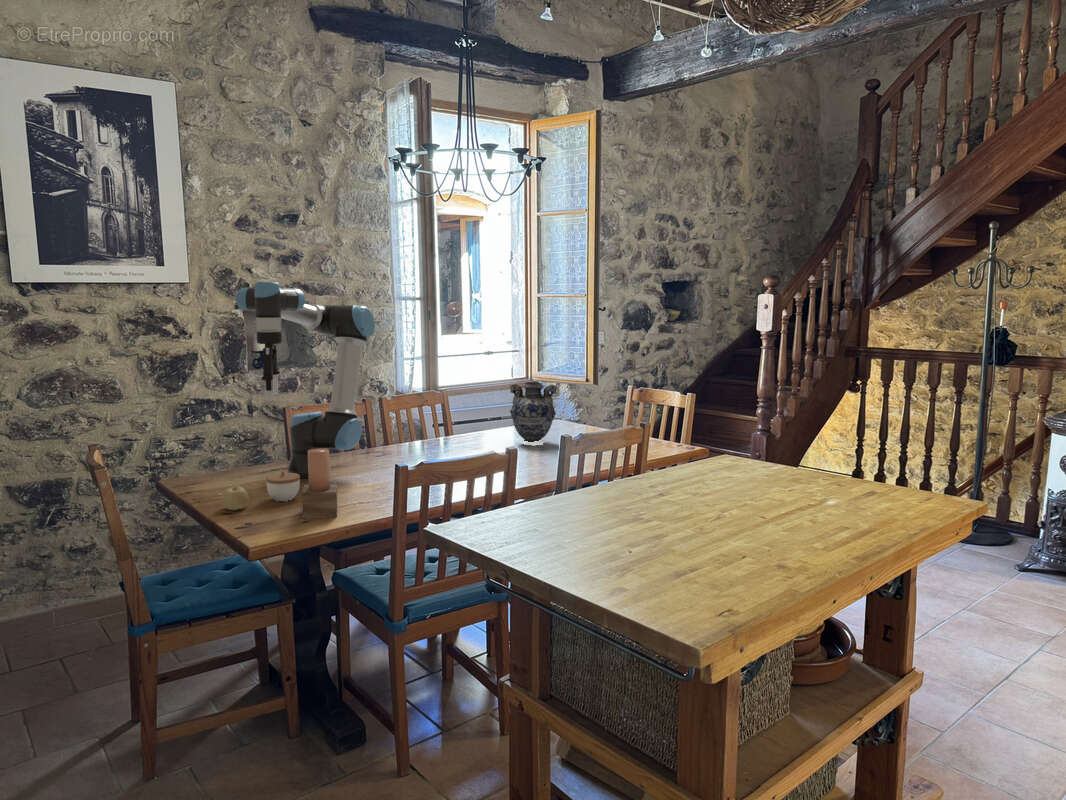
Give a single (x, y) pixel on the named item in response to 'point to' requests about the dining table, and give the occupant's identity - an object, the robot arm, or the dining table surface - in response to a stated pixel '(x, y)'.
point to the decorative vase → (532, 410)
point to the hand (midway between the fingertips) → (271, 397)
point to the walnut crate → (319, 502)
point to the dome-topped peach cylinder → (319, 469)
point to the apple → (235, 498)
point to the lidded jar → (283, 485)
